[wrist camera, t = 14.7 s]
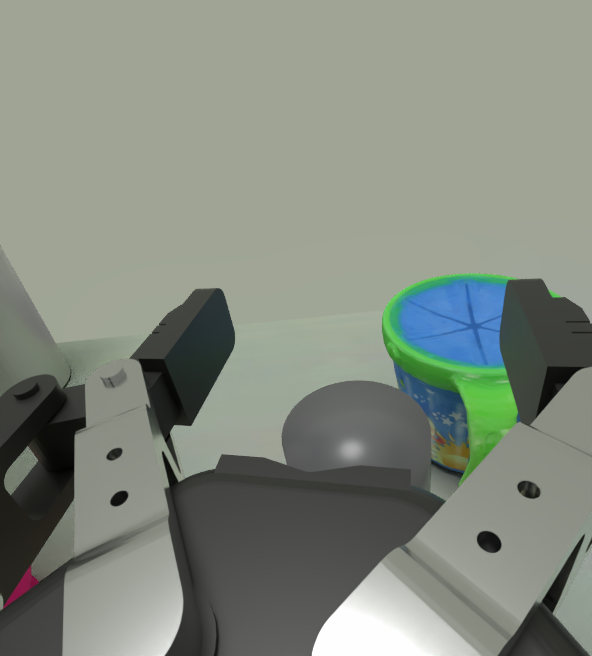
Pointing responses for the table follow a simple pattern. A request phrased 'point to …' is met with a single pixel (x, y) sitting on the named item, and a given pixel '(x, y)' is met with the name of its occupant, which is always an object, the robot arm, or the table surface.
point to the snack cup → (454, 363)
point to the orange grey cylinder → (359, 430)
